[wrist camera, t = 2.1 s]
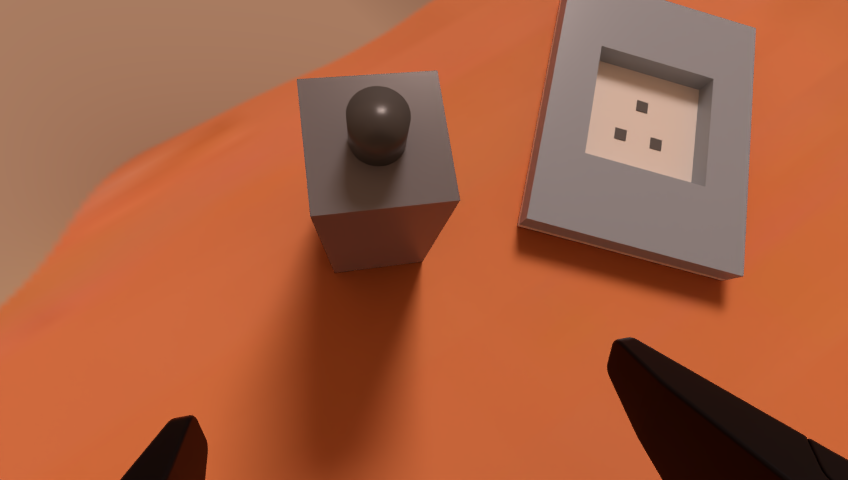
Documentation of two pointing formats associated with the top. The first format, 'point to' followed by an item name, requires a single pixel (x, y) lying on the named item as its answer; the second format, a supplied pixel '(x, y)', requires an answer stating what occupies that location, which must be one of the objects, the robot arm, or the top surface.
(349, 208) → the plug
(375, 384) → the top surface
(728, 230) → the socket
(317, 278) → the top surface
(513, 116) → the top surface
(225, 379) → the top surface
